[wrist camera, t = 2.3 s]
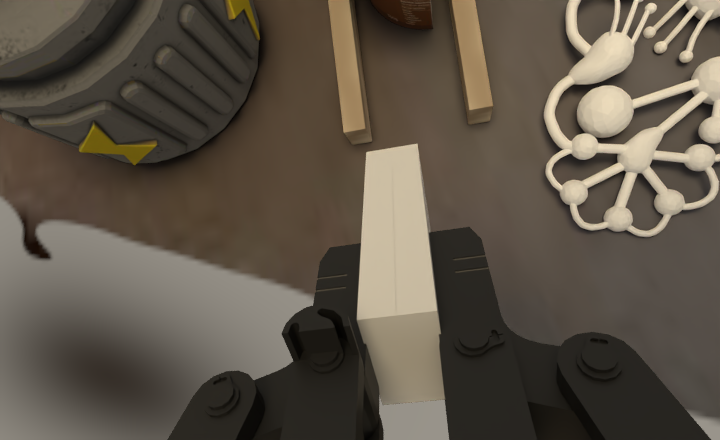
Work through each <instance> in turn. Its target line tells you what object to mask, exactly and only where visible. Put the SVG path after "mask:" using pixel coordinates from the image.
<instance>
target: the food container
mask: <svg viewBox="0 0 720 440" xmlns="http://www.w3.org/2000/svg"><path fill="white" fill-rule="evenodd" d="M370 1H371V2H372V4H373V6H374V7H375V8H376V10H377V11H378V12H379V13H380V14H381V15H382V16H384V17H385V18H386V19H388V20H389V21H391V22H393V23H395V24H397V25H400V26H403V27H407V28H411V29H433V23H432V6H431V0H370Z"/></svg>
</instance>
